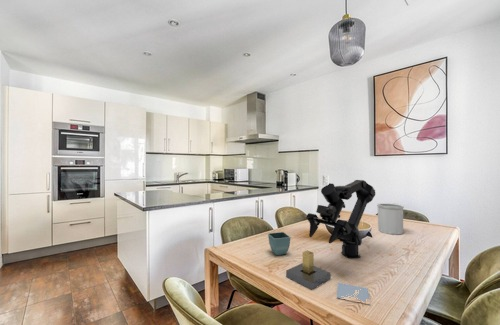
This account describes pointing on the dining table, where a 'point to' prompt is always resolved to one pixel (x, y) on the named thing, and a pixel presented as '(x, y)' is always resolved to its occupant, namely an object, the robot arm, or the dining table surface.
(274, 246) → the flower pot
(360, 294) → the rubber mat
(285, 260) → the dining table surface
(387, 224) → the utensil holder
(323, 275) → the socket plate
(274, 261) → the dining table surface
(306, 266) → the brass peg
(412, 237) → the dining table surface
